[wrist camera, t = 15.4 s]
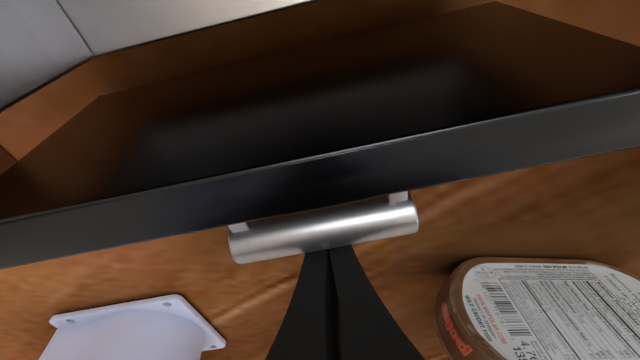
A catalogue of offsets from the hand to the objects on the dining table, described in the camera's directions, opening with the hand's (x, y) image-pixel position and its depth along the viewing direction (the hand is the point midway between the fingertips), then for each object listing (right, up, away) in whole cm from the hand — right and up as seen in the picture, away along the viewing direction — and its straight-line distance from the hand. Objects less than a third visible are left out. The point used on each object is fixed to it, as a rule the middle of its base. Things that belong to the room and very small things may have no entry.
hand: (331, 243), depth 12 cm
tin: (+14, -3, +9) cm, 16 cm away
